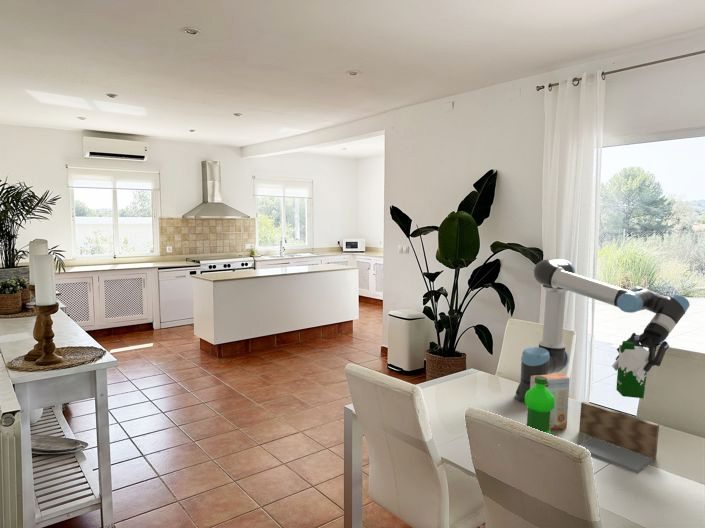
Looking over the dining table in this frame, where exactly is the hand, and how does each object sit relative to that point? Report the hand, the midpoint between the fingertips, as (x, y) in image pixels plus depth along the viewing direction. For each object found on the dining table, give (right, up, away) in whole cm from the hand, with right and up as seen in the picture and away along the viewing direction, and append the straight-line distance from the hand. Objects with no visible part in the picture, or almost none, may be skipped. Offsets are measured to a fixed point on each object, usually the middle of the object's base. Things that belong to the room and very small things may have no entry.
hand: (625, 372), depth 176 cm
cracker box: (-25, -25, +11) cm, 37 cm away
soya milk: (+3, -9, +2) cm, 10 cm away
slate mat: (-11, -27, -11) cm, 31 cm away
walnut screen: (-5, -26, -2) cm, 27 cm away
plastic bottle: (-35, -26, -3) cm, 43 cm away
